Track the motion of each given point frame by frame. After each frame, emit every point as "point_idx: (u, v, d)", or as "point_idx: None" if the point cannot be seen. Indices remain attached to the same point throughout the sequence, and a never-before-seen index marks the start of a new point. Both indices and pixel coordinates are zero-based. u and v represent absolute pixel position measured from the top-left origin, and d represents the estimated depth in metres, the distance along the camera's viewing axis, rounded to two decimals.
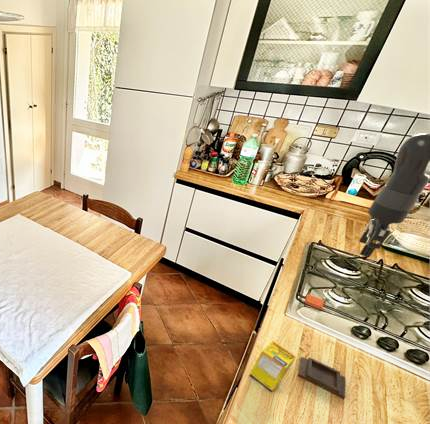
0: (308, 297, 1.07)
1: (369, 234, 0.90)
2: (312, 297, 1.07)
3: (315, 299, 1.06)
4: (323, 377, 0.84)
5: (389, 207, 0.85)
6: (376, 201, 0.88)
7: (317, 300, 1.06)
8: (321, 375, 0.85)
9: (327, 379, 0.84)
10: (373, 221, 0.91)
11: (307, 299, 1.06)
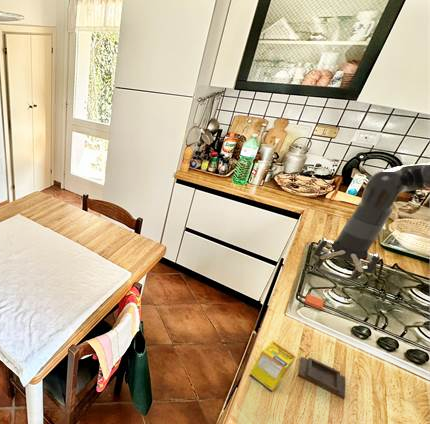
0: (308, 297, 1.07)
1: (360, 263, 0.93)
2: (312, 297, 1.07)
3: (315, 299, 1.06)
4: (323, 377, 0.84)
5: None
6: (365, 238, 0.88)
7: (317, 300, 1.06)
8: (321, 375, 0.85)
9: (327, 379, 0.84)
10: (345, 251, 0.94)
11: (307, 299, 1.06)
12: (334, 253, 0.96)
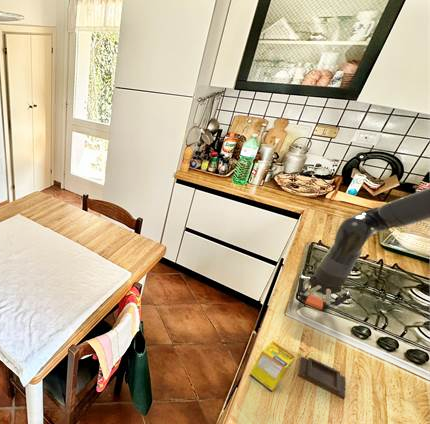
0: (308, 297, 1.07)
1: (330, 298, 1.01)
2: (312, 297, 1.07)
3: (315, 299, 1.06)
4: (323, 377, 0.84)
5: (348, 275, 0.96)
6: (338, 276, 0.95)
7: (317, 300, 1.06)
8: (321, 375, 0.85)
9: (327, 379, 0.84)
10: (321, 286, 1.01)
11: (307, 299, 1.06)
12: (311, 287, 1.03)
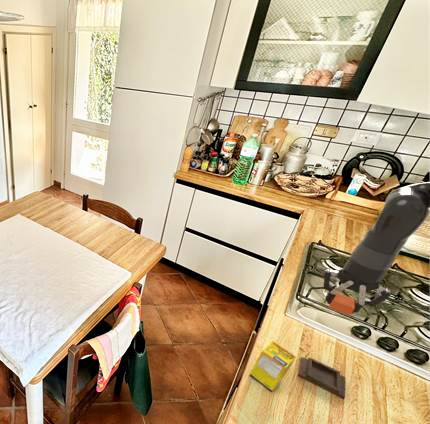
0: (336, 296, 0.88)
1: None
2: (341, 296, 0.88)
3: (345, 298, 0.87)
4: (323, 377, 0.84)
5: None
6: (376, 269, 0.76)
7: (347, 300, 0.86)
8: (321, 375, 0.85)
9: (327, 379, 0.84)
10: (353, 281, 0.82)
11: (335, 298, 0.87)
12: (340, 283, 0.84)
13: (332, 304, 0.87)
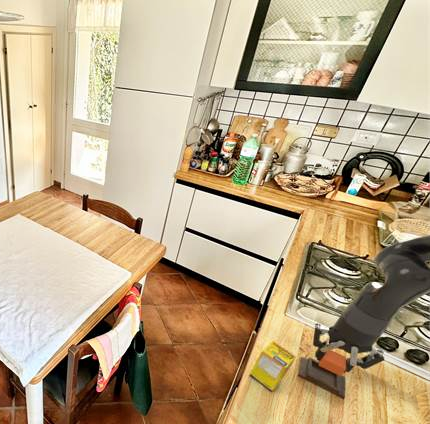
0: (326, 353, 0.82)
1: (356, 358, 0.76)
2: (331, 353, 0.82)
3: (336, 356, 0.81)
4: (323, 377, 0.84)
5: (383, 332, 0.71)
6: (369, 333, 0.71)
7: (338, 358, 0.81)
8: (321, 375, 0.85)
9: (327, 379, 0.84)
10: (344, 342, 0.76)
11: (325, 356, 0.81)
12: (331, 342, 0.78)
13: (322, 362, 0.81)
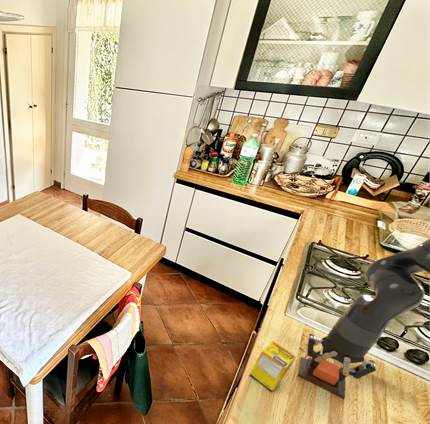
0: (320, 362, 0.84)
1: (349, 368, 0.78)
2: (325, 363, 0.84)
3: (329, 365, 0.83)
4: None
5: (374, 343, 0.73)
6: (361, 345, 0.72)
7: (332, 367, 0.83)
8: None
9: None
10: (337, 352, 0.78)
11: (318, 365, 0.83)
12: (324, 352, 0.80)
13: (316, 372, 0.83)
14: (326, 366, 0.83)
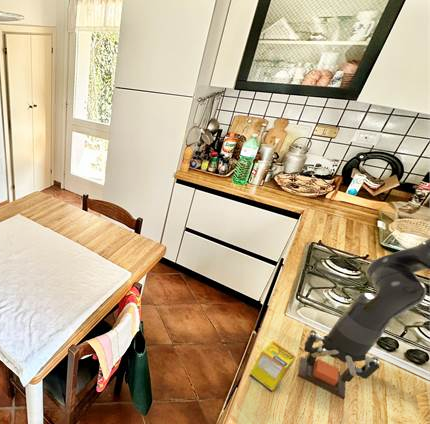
0: (319, 364, 0.84)
1: (354, 367, 0.77)
2: (324, 365, 0.84)
3: (328, 367, 0.83)
4: None
5: None
6: (362, 343, 0.72)
7: (331, 369, 0.83)
8: None
9: None
10: (339, 350, 0.78)
11: (318, 367, 0.83)
12: (325, 351, 0.80)
13: (315, 374, 0.83)
14: (325, 368, 0.83)
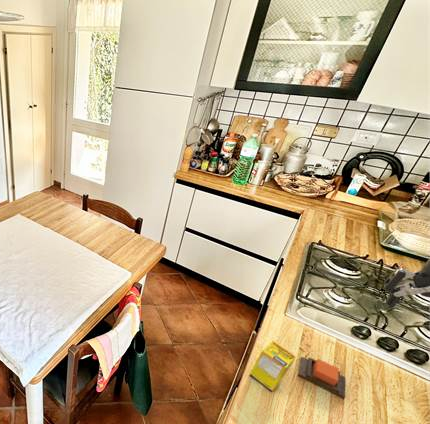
0: (319, 364, 0.84)
1: None
2: (324, 365, 0.84)
3: (328, 367, 0.83)
4: None
5: None
6: None
7: (331, 369, 0.83)
8: None
9: None
10: None
11: (318, 367, 0.83)
12: (417, 290, 0.68)
13: (315, 374, 0.83)
14: (325, 368, 0.83)
